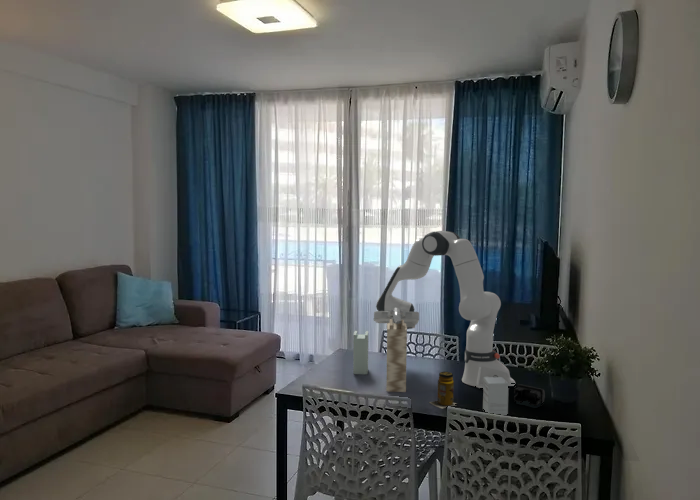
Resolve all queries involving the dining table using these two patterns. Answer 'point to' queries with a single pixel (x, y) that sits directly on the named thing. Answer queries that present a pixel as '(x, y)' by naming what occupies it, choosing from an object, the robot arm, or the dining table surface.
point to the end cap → (529, 394)
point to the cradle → (360, 353)
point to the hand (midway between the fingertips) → (396, 311)
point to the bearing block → (396, 356)
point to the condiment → (445, 390)
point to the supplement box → (495, 395)
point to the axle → (396, 315)
